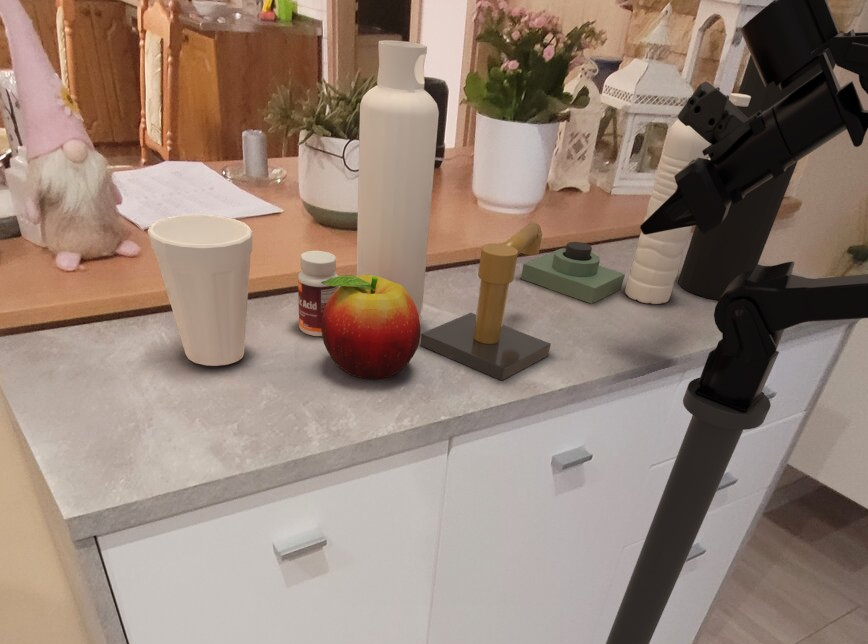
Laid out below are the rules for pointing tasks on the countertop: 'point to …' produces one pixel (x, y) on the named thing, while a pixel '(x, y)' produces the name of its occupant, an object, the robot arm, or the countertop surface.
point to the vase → (741, 208)
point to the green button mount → (573, 276)
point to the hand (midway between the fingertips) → (642, 230)
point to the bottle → (396, 170)
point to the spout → (508, 255)
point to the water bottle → (666, 248)
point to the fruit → (370, 326)
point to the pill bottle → (314, 289)
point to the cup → (206, 282)
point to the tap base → (482, 353)
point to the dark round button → (578, 251)
